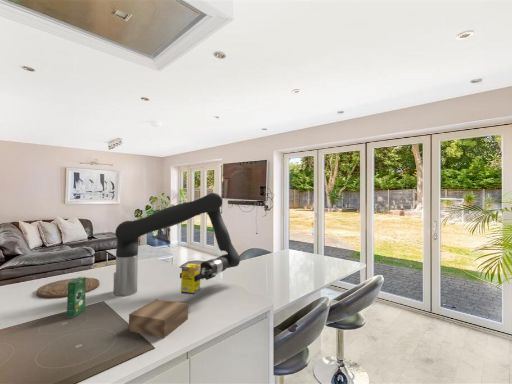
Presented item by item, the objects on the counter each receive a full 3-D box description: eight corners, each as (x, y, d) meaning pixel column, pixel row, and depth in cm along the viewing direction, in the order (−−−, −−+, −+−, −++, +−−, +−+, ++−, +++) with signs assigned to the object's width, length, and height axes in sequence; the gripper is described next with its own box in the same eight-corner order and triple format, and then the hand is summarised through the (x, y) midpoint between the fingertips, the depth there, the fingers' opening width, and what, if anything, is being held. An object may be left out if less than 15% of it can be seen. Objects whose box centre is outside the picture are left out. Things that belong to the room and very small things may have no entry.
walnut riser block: (128, 332, 91) (129, 314, 91) (155, 314, 104) (156, 299, 104) (164, 339, 87) (164, 320, 87) (187, 320, 100) (188, 303, 100)
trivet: (97, 293, 126) (97, 289, 126) (28, 302, 115) (29, 298, 115) (101, 278, 148) (101, 275, 148) (44, 285, 137) (44, 281, 137)
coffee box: (78, 309, 108) (78, 276, 108) (85, 308, 108) (86, 275, 108) (66, 318, 100) (66, 282, 100) (74, 318, 100) (75, 282, 100)
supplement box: (194, 295, 109) (195, 267, 109) (180, 293, 110) (181, 266, 110) (200, 290, 115) (201, 264, 115) (187, 288, 116) (187, 263, 116)
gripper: (198, 257, 129) (174, 265, 114) (224, 261, 122) (202, 270, 107) (198, 273, 129) (173, 283, 114) (224, 278, 122) (201, 289, 107)
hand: (187, 277), depth 111 cm, fingers closed on supplement box, 7 cm apart
